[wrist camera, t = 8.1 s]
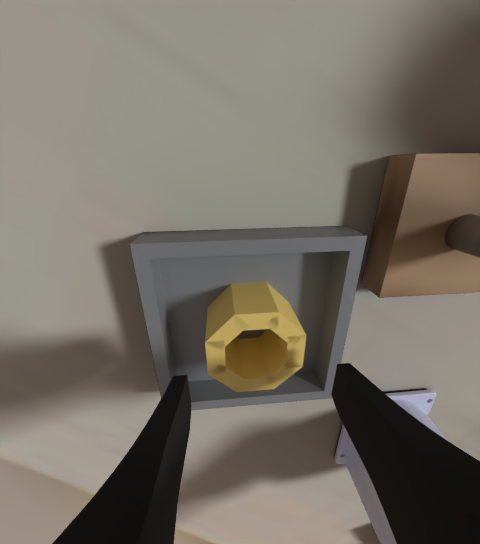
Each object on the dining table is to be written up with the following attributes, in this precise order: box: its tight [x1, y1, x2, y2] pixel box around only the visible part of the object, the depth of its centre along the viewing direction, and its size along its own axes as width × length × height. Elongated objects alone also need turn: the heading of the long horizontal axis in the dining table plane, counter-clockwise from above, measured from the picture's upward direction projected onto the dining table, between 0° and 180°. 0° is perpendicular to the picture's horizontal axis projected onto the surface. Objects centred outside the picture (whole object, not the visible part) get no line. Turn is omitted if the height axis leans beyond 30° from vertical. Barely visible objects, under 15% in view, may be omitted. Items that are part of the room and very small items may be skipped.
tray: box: [130, 226, 367, 410], centre depth 16 cm, size 12×12×2 cm
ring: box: [205, 282, 306, 392], centre depth 15 cm, size 5×5×4 cm
